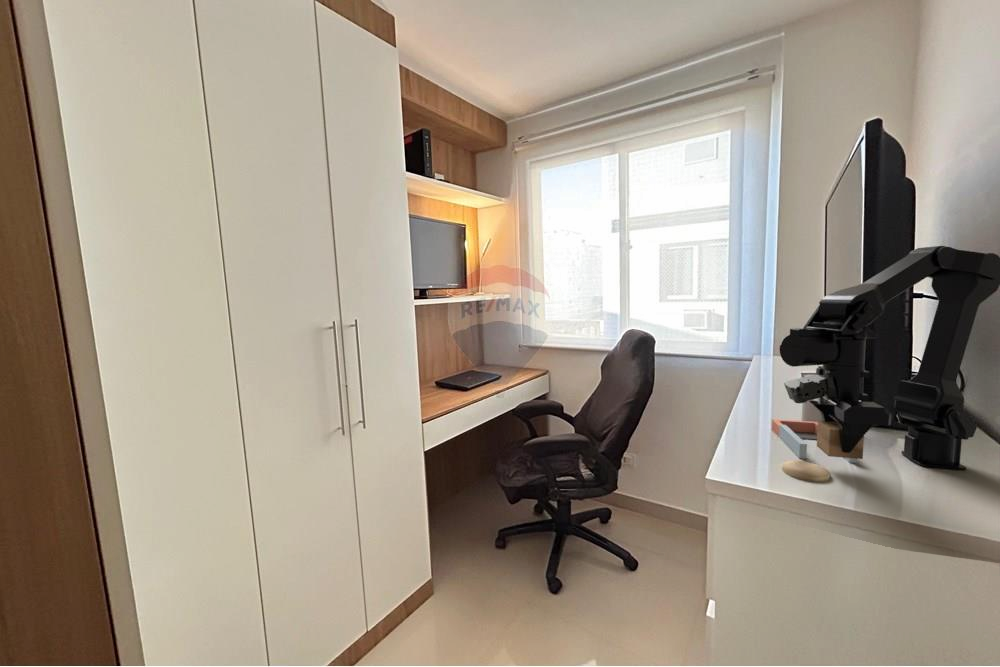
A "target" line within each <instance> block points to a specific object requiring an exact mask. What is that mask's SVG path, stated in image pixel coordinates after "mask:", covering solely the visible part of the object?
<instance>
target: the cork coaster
mask: <svg viewBox="0 0 1000 667" xmlns="http://www.w3.org/2000/svg"><path fill="white" fill-rule="evenodd" d="M781 470H782V472H784V473H785V474H787V475H789V476H790V477H792V478H796V479H799V480H803V481H808V482H820V483H821V482H827V481H829V480H831V472H830V470H828V469H827V468H825V467H823V466H821V465H819V464H816V463H813V462H810V461H809V462H808V461H803V460H786V461H783V462H782V466H781Z"/></svg>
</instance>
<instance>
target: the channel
mask: <svg viewBox="0 0 1000 667" xmlns="http://www.w3.org/2000/svg"><path fill="white" fill-rule="evenodd" d="M778 438H779V439H780V440H781V441H782V442H783V444H785V445H786V446H787V448H789V449H790V450H791V452H793V454H794V455H795V456H796V457H797V458H798V459H803V460H804V459H805V460H807V452H808V451H807V450H808V443H806V442H805V441H804V439H801V438H800V437H798V436H797V435H796V434H795V433H794V432H793V431H792V430H791V429H790V428H789V427H788V426H786V425H780V427H779V437H778ZM844 460H846V461H847V462H848V463H850V464H853V463H854V464H858V459H855V458H844Z"/></svg>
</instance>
